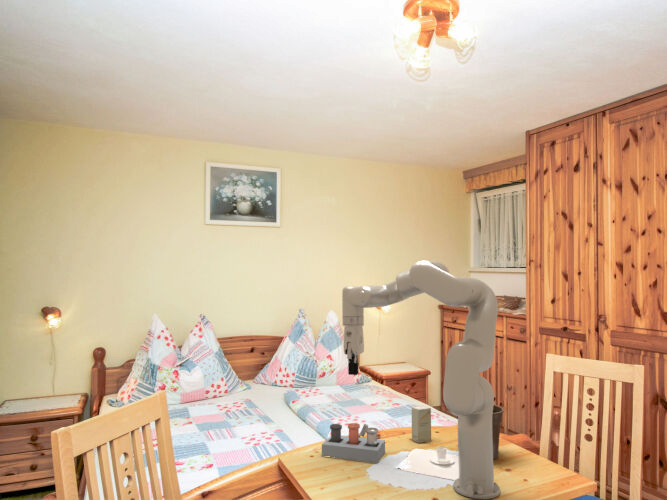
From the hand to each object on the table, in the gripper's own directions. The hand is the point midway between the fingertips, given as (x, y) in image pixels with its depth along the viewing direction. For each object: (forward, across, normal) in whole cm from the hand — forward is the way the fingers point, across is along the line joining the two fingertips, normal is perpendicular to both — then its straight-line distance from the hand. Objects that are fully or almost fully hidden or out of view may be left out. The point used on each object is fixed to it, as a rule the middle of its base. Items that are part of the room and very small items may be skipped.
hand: (353, 374), depth 161 cm
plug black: (+26, 0, +6) cm, 27 cm away
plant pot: (+27, +13, -41) cm, 51 cm away
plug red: (+25, 0, 0) cm, 25 cm away
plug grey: (+26, 0, -6) cm, 27 cm away
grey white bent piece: (+27, +8, +1) cm, 28 cm away
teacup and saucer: (+27, 0, -27) cm, 38 cm away
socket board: (+27, 0, 0) cm, 27 cm away
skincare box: (+27, +22, -20) cm, 40 cm away
